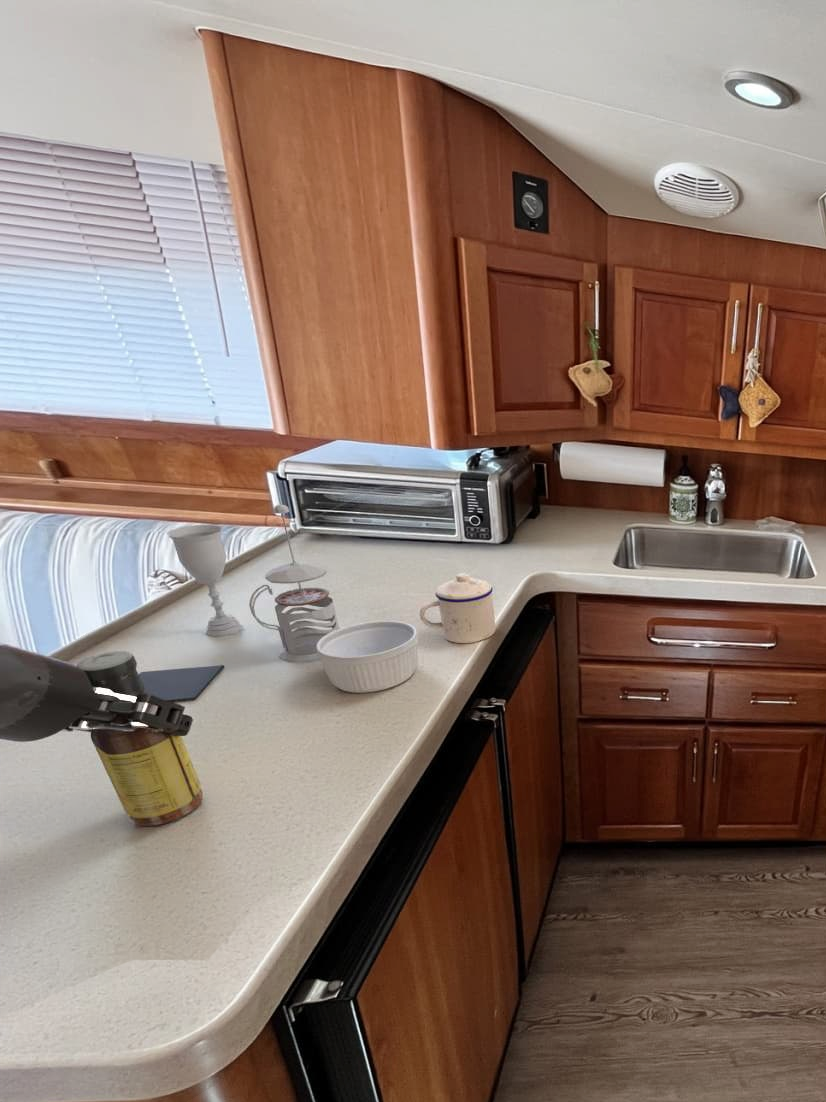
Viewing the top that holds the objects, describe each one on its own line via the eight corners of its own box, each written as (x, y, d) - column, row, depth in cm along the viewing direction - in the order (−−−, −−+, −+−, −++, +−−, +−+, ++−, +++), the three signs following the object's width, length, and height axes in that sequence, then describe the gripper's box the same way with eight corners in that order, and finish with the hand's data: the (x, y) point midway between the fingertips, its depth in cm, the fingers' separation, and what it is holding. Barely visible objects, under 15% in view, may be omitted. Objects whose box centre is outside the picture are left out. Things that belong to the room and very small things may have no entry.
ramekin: (322, 668, 102) (313, 629, 99) (416, 650, 110) (410, 613, 107) (328, 707, 92) (318, 665, 90) (430, 684, 100) (423, 645, 97)
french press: (357, 650, 108) (327, 507, 98) (272, 671, 100) (229, 518, 90) (340, 630, 114) (310, 494, 104) (258, 649, 106) (217, 503, 96)
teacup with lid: (490, 619, 123) (484, 563, 118) (502, 638, 116) (496, 579, 112) (420, 632, 116) (410, 572, 111) (428, 652, 109) (418, 590, 105)
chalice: (197, 626, 111) (166, 528, 104) (247, 617, 116) (220, 522, 109) (199, 642, 106) (166, 540, 99) (251, 632, 111) (223, 534, 104)
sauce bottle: (163, 791, 75) (106, 640, 67) (220, 792, 75) (169, 643, 67) (110, 831, 68) (40, 671, 61) (172, 833, 69) (110, 674, 61)
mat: (103, 708, 88) (102, 706, 88) (142, 674, 96) (141, 671, 96) (195, 700, 91) (194, 697, 91) (224, 667, 100) (223, 664, 100)
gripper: (104, 649, 56) (235, 694, 72) (-83, 645, 55) (91, 692, 70) (69, 734, 53) (212, 761, 69) (-130, 732, 52) (63, 761, 67)
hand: (151, 726), depth 69 cm, fingers closed on sauce bottle, 6 cm apart
